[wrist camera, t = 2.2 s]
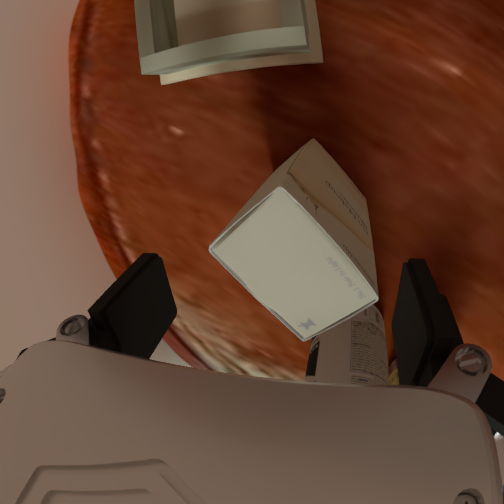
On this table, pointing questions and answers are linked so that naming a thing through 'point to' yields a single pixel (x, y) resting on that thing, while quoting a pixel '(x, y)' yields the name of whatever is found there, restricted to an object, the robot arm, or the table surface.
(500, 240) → the table surface
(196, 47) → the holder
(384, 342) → the spray can
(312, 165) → the skincare box
